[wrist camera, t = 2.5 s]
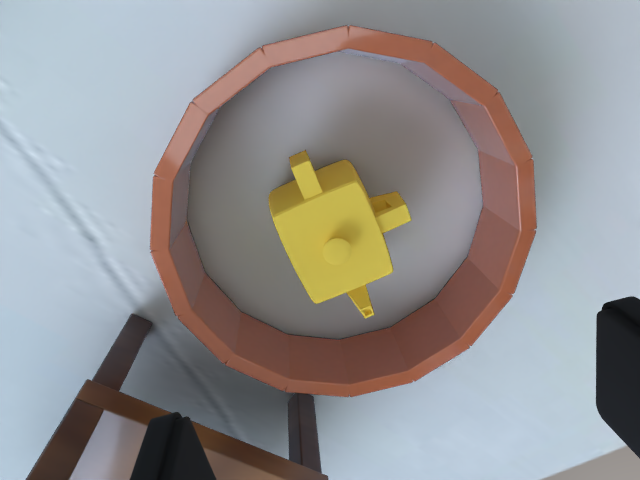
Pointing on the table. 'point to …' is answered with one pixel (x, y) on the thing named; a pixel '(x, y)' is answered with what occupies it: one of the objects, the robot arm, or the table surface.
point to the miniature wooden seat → (132, 421)
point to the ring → (419, 327)
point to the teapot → (335, 230)
